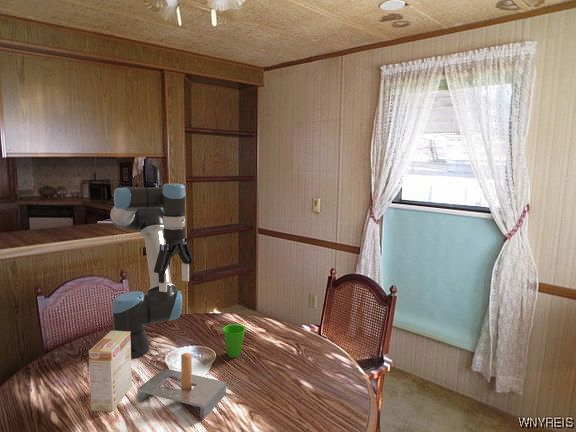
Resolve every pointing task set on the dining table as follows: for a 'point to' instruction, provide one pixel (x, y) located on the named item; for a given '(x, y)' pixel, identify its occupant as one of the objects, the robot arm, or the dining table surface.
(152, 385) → the keyhole plate
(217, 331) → the dining table surface
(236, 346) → the cup
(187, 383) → the headed peg
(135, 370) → the dining table surface
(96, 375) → the coffeecake box
